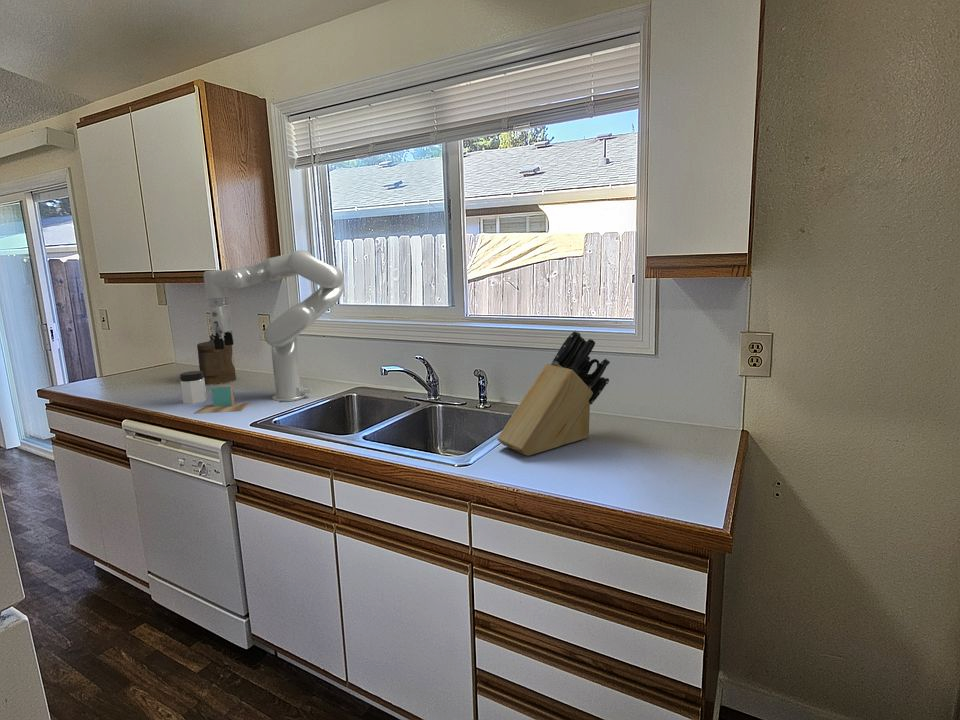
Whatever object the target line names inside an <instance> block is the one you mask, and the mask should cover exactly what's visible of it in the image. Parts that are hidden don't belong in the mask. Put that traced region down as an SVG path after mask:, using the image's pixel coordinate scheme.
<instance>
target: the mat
mask: <svg viewBox="0 0 960 720" xmlns="http://www.w3.org/2000/svg"><path fill="white" fill-rule="evenodd" d="M251 404H252V402H238V403H237V402H234V405H233V406H215V407H214V403H213V404H206V405H204V406H203V407H201V408H200V409H198V410H196V411H195V412H193V414H212V413H213V414H214V413H230V412H233V413H235V412H241V411H243V410H244V409H246V408H247V407H248V406H249V405H251Z"/></svg>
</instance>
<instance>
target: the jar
mask: <svg viewBox="0 0 960 720" xmlns="http://www.w3.org/2000/svg"><path fill="white" fill-rule="evenodd" d="M179 377H180V382H179V383H180V389H181V390H180V391H181V396H182V403H183V404H191V405H193V404H197V403H198V404H199V403H203V402H206V401H207V399H208V396H207V395H208V394H207V388H206V384H205V380H204V376H203V372H202V371H200V370H191V371H184V372H181V373H180V374H179Z"/></svg>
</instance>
